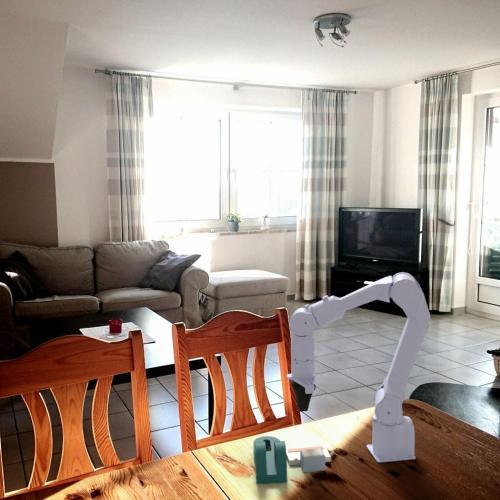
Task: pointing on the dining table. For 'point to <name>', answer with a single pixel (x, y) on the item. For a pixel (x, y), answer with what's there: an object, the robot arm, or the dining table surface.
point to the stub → (312, 460)
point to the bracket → (270, 460)
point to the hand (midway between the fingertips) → (303, 410)
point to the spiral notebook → (294, 452)
